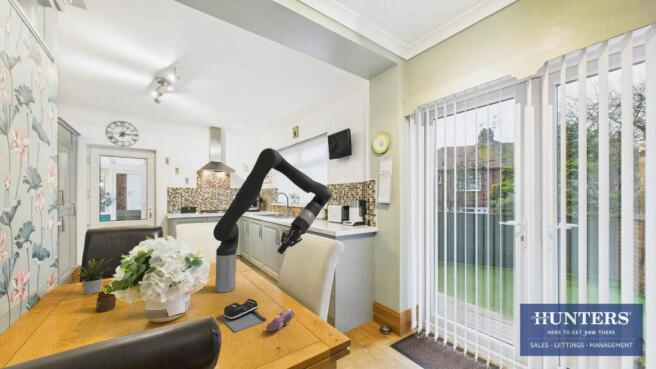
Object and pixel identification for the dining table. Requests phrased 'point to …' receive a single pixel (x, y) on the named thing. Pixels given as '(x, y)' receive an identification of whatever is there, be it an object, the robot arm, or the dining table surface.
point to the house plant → (92, 277)
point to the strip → (259, 315)
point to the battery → (239, 309)
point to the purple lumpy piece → (281, 320)
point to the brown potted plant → (105, 301)
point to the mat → (242, 322)
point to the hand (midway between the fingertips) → (279, 252)
